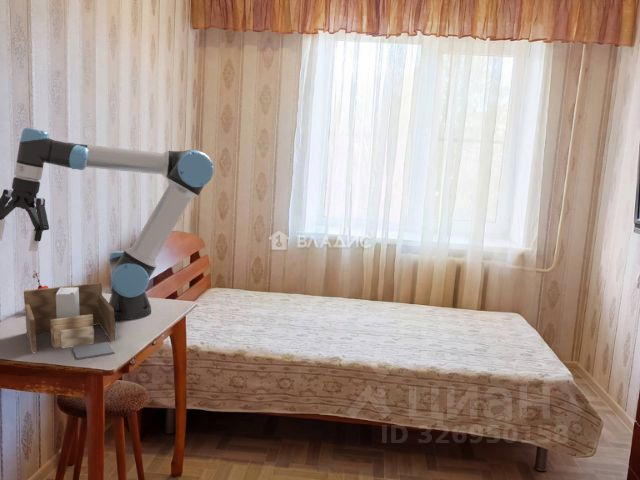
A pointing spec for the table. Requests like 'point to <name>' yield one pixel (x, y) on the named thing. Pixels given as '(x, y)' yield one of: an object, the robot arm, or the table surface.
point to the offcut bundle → (72, 331)
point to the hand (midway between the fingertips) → (14, 245)
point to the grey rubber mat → (93, 350)
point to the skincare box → (67, 302)
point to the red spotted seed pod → (38, 282)
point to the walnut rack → (44, 309)
